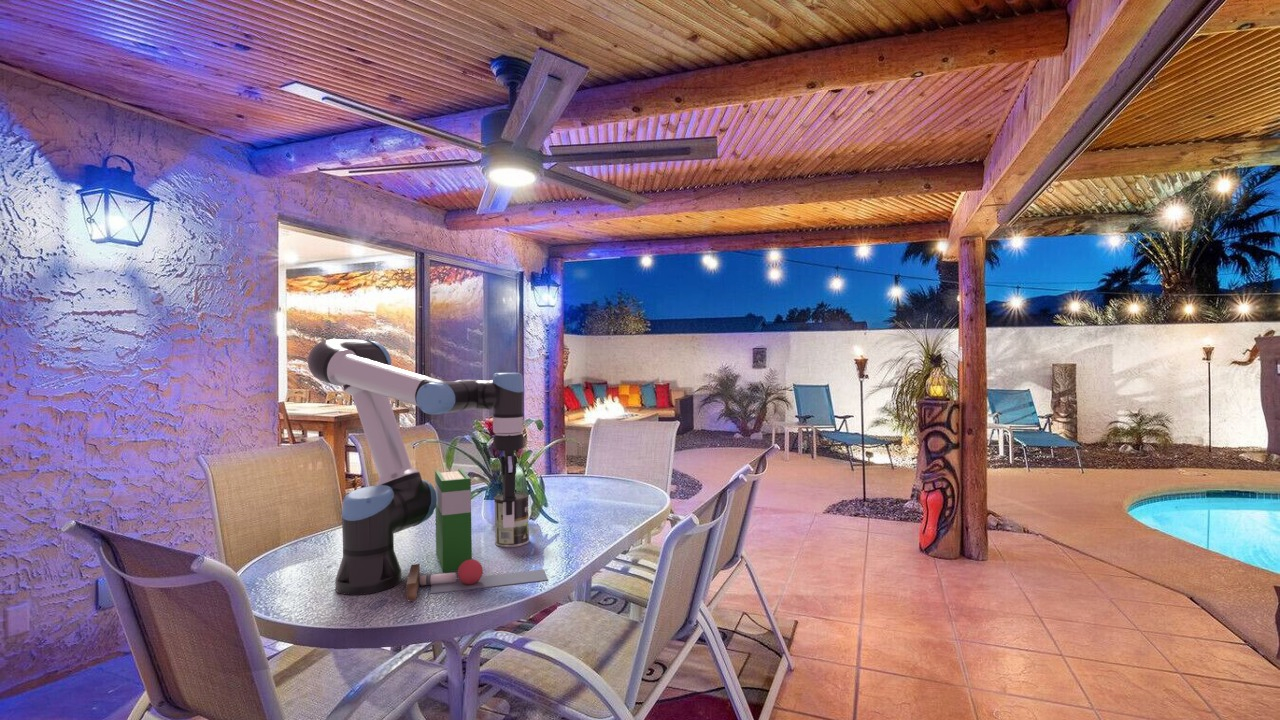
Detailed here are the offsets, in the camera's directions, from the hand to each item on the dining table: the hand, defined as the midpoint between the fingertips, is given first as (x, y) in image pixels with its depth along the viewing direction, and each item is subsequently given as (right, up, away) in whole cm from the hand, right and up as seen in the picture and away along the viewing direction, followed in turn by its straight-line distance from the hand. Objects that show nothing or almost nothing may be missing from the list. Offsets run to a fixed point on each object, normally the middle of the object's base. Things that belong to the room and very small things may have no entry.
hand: (508, 526), depth 154 cm
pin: (-13, -12, -2) cm, 18 cm away
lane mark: (-4, -13, -2) cm, 14 cm away
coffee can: (-6, -14, +31) cm, 35 cm away
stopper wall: (-22, -14, -7) cm, 26 cm away
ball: (-9, -10, -3) cm, 14 cm away
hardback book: (-19, -14, +15) cm, 28 cm away
